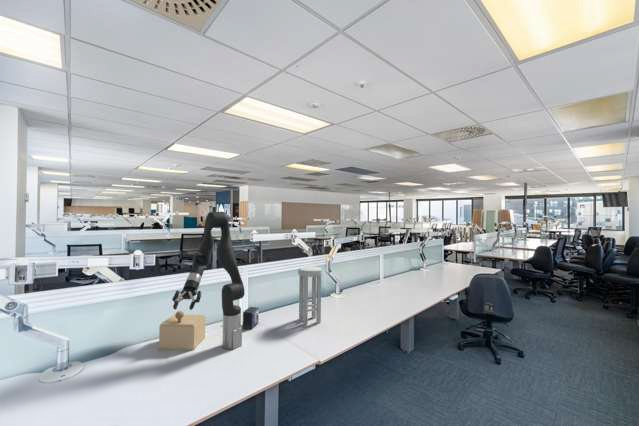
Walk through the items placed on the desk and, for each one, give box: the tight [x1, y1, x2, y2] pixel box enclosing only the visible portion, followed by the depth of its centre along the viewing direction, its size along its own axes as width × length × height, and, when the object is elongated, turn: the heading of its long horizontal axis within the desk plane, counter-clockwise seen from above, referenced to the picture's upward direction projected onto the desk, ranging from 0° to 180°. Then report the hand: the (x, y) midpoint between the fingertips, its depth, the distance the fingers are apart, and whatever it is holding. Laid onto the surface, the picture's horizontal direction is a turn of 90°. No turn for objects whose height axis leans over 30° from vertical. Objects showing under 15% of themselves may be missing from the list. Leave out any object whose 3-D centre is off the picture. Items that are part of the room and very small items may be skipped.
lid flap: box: [159, 310, 206, 326], centre depth 150 cm, size 14×17×7 cm
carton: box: [158, 316, 206, 351], centre depth 150 cm, size 14×18×12 cm
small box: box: [242, 306, 260, 330], centre depth 175 cm, size 11×6×10 cm, turn 168°
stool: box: [297, 266, 323, 326], centre depth 185 cm, size 16×16×35 cm
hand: (182, 309), depth 149 cm, fingers open, 8 cm apart
